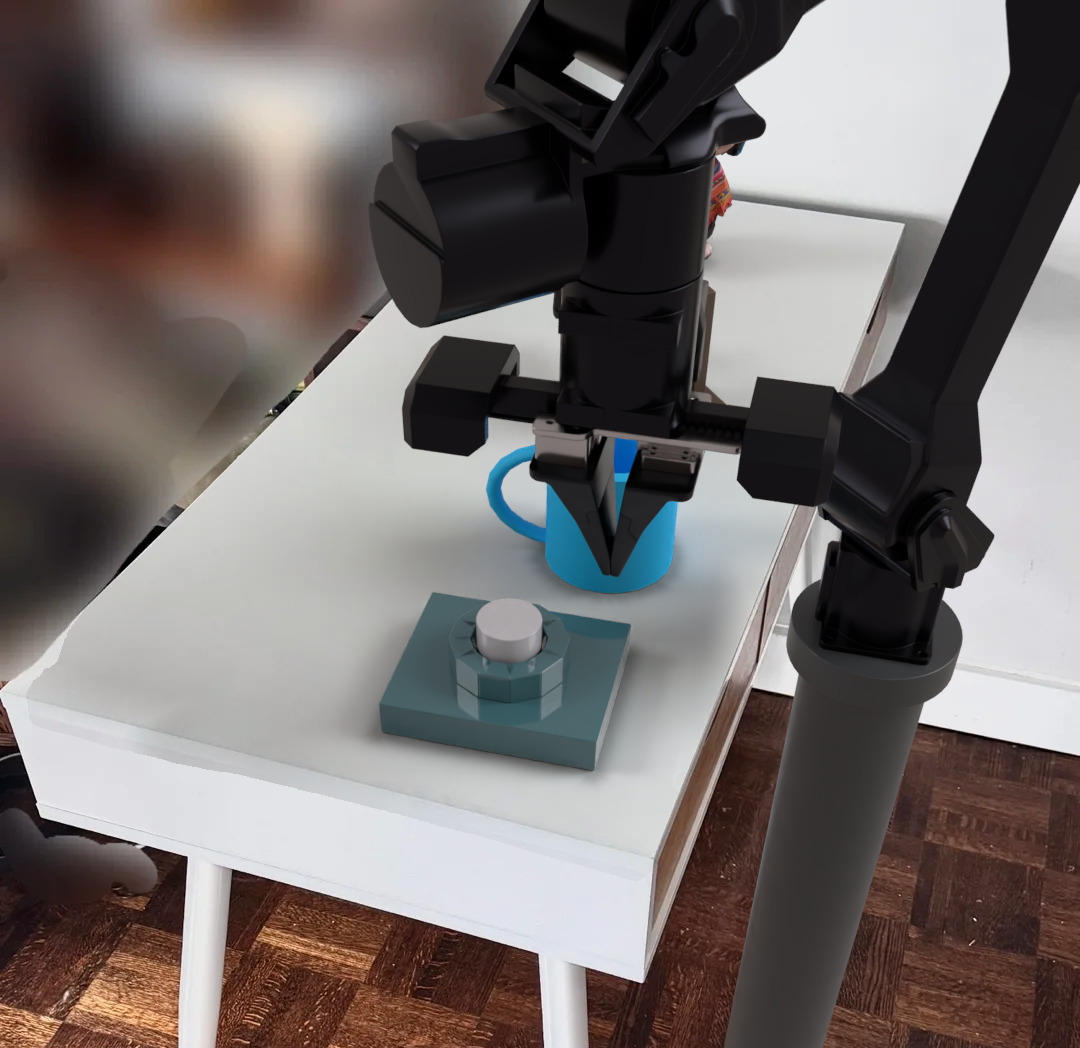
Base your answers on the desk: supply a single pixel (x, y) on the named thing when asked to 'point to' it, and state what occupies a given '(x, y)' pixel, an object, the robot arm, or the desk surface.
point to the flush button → (509, 630)
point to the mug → (567, 541)
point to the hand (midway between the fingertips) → (612, 570)
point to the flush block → (508, 686)
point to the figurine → (720, 190)
